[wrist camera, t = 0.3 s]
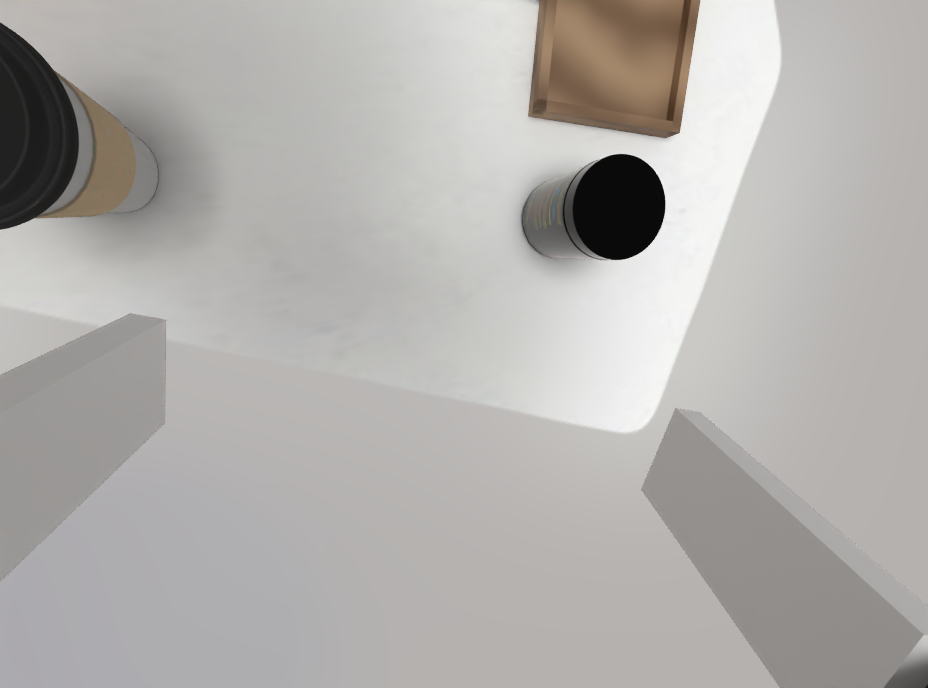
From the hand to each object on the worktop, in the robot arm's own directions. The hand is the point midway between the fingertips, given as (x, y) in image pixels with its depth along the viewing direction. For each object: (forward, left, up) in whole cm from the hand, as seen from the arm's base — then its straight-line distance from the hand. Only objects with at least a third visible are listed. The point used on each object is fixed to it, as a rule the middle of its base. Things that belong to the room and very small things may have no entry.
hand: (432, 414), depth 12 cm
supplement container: (-8, +14, -28) cm, 32 cm away
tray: (-25, +17, -27) cm, 41 cm away
